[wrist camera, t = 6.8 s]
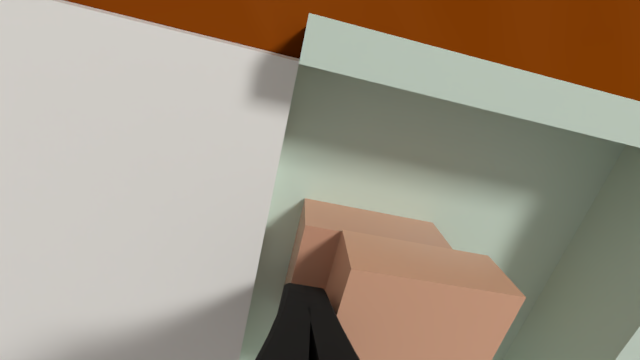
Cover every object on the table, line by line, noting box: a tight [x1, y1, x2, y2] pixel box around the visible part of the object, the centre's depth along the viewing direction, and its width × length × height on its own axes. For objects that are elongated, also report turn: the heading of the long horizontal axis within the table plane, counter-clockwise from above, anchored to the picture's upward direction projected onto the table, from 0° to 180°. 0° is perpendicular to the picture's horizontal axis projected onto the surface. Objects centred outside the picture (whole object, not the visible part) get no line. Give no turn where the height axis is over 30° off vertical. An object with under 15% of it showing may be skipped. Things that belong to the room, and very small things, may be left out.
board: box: [0, 0, 300, 360], centre depth 11 cm, size 14×16×2 cm
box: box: [239, 13, 640, 360], centre depth 12 cm, size 16×13×4 cm
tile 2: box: [325, 230, 526, 360], centre depth 11 cm, size 5×5×2 cm
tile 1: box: [284, 198, 452, 290], centre depth 12 cm, size 5×5×2 cm
